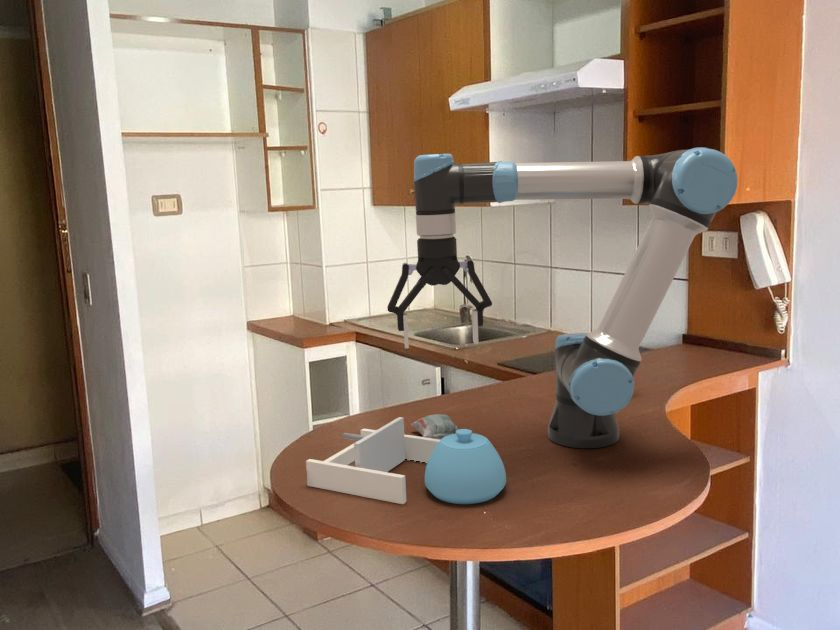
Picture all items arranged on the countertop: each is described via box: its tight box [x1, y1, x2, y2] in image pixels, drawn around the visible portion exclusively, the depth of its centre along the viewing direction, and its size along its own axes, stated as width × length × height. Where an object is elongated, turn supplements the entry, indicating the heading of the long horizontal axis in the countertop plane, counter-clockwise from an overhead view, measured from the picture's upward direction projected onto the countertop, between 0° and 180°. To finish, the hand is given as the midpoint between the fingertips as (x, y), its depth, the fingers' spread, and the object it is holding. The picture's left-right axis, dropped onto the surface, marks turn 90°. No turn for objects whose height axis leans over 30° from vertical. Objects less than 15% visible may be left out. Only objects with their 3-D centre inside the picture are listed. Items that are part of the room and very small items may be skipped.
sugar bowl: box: [424, 428, 507, 505], centre depth 142 cm, size 15×15×12 cm
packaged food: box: [410, 413, 459, 440], centre depth 171 cm, size 9×12×5 cm
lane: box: [305, 428, 440, 505], centre depth 151 cm, size 21×20×5 cm
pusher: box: [341, 416, 406, 473], centre depth 152 cm, size 9×17×9 cm, turn 152°
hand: (441, 345), depth 151 cm, fingers open, 13 cm apart
